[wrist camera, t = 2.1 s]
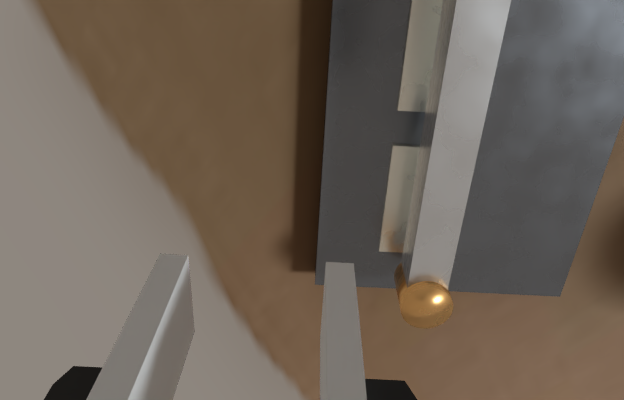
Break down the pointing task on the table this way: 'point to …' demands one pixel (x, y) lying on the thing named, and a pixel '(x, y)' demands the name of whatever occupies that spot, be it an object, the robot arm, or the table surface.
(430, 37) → the server tray
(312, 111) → the table surface
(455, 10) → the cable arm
